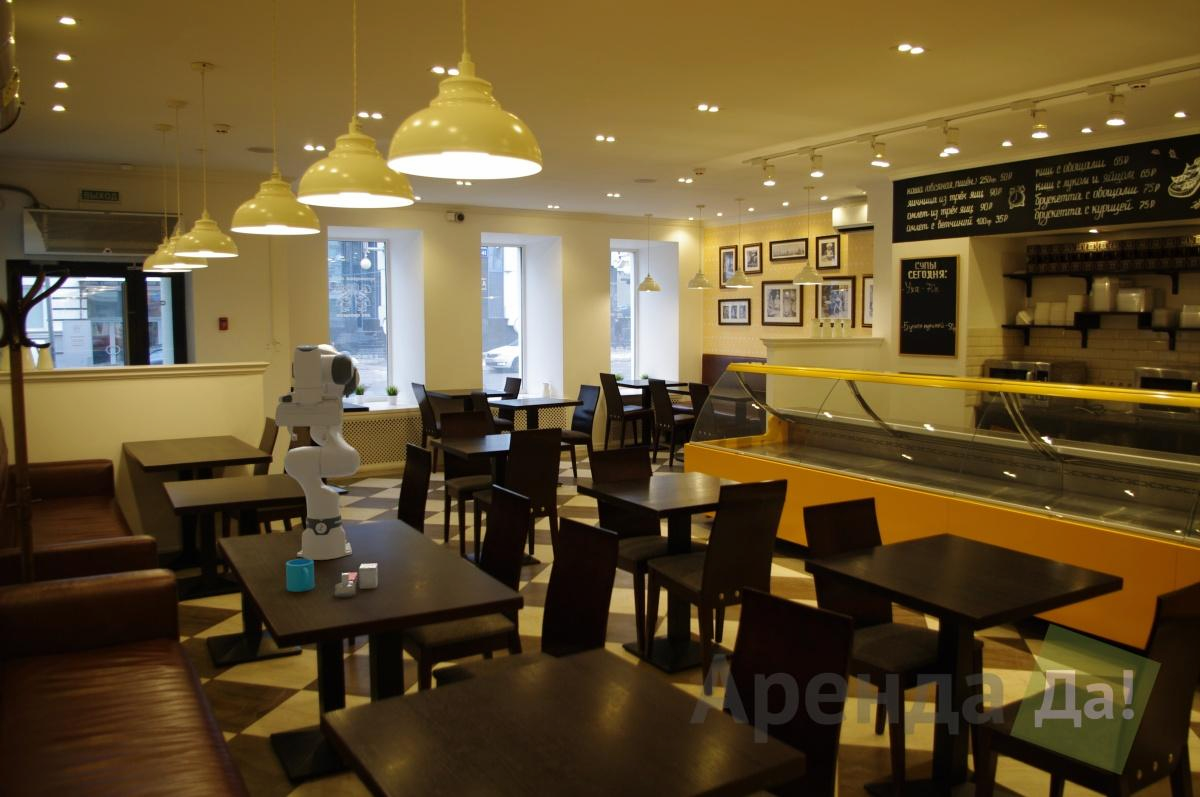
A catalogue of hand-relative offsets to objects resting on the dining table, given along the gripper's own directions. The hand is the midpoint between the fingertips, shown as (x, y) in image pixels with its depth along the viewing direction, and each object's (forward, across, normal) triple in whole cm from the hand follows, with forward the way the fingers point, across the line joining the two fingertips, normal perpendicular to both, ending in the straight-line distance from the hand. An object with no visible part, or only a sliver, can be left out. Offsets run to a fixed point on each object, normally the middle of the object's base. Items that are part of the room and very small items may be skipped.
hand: (309, 440), depth 283 cm
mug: (+46, +2, +9) cm, 47 cm away
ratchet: (+45, -12, +10) cm, 48 cm away
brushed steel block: (+45, -18, +8) cm, 50 cm away
